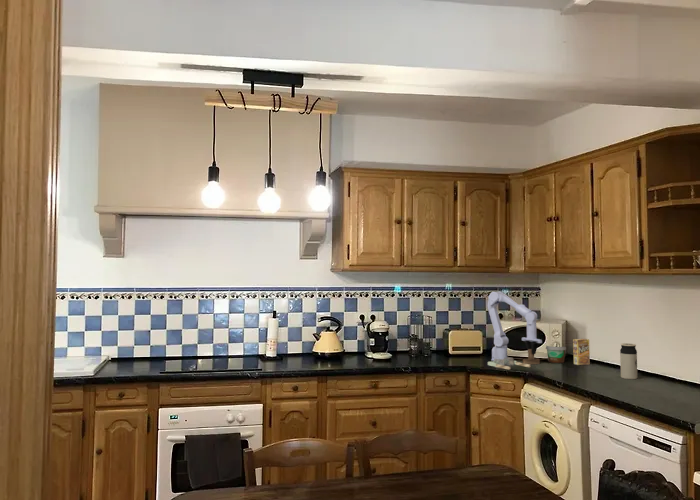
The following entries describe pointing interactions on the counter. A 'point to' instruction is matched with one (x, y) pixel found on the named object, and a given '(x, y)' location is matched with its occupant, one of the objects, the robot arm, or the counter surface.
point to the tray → (496, 363)
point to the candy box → (581, 351)
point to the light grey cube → (499, 361)
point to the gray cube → (509, 361)
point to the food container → (556, 354)
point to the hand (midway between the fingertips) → (531, 353)
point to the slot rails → (516, 364)
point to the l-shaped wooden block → (531, 358)
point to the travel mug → (628, 361)
